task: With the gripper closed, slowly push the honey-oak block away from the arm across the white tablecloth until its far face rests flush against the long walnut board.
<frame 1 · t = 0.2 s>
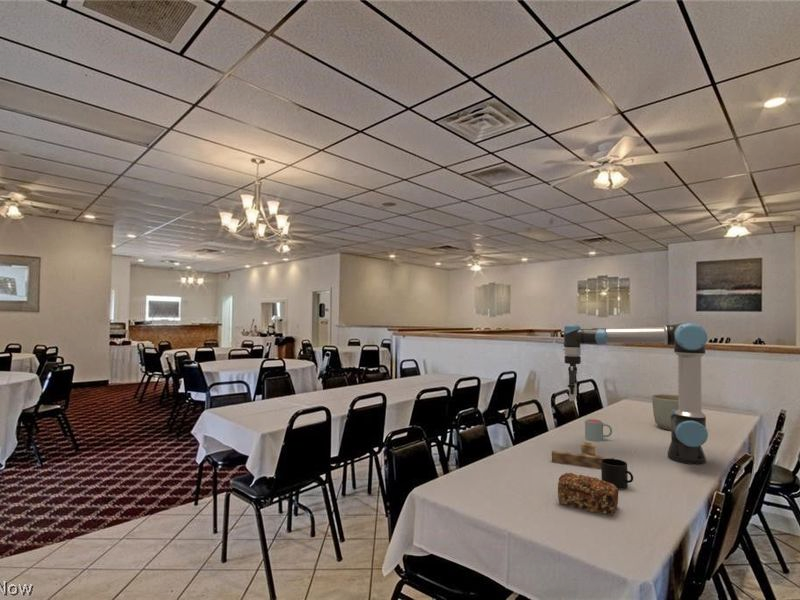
hand: (573, 398, 215), 27 cm above the table, fingers open, 13 cm apart
planter: (672, 429, 261), on the table
board: (582, 465, 196), on the table
block: (588, 456, 209), on the table
bread: (588, 506, 154), on the table
mug 2: (598, 440, 238), on the table
mug: (617, 486, 172), on the table
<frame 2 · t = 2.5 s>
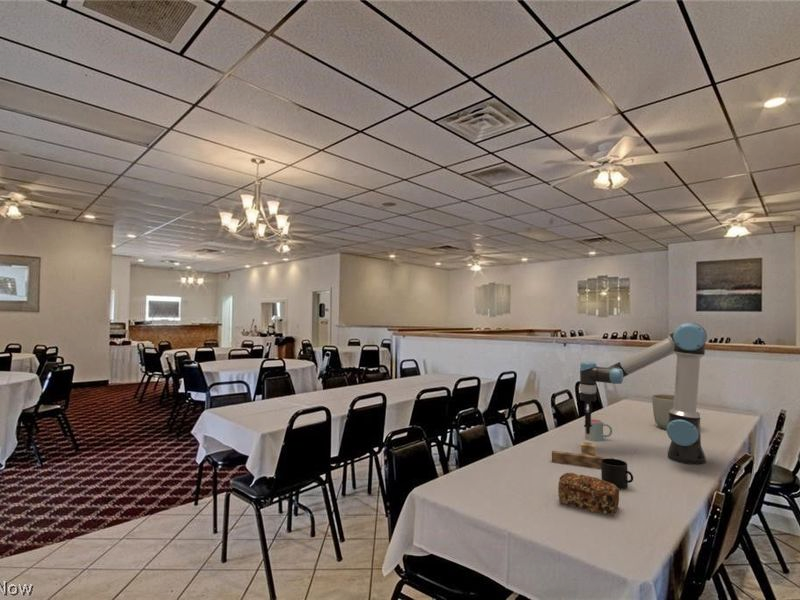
hand: (588, 439, 219), 6 cm above the table, fingers closed
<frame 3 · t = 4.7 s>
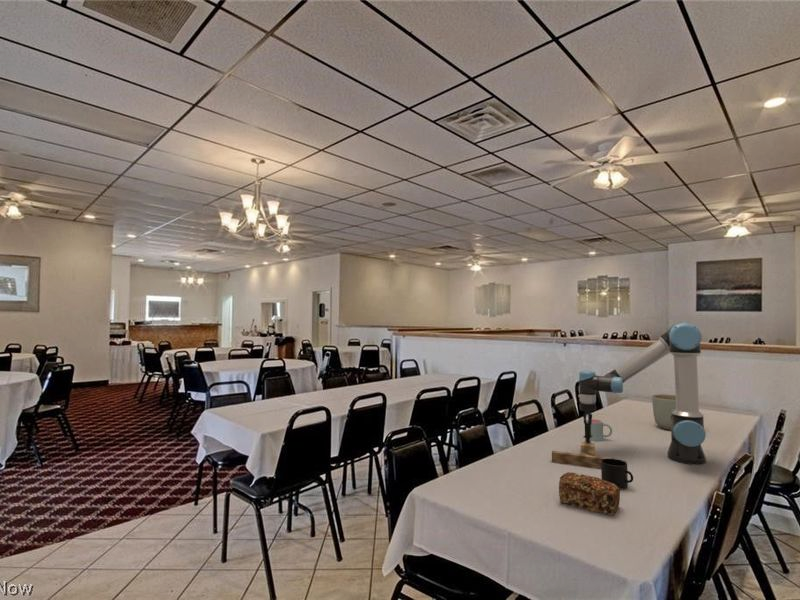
hand: (588, 450, 213), 2 cm above the table, fingers closed
block: (588, 456, 208), on the table, touching gripper
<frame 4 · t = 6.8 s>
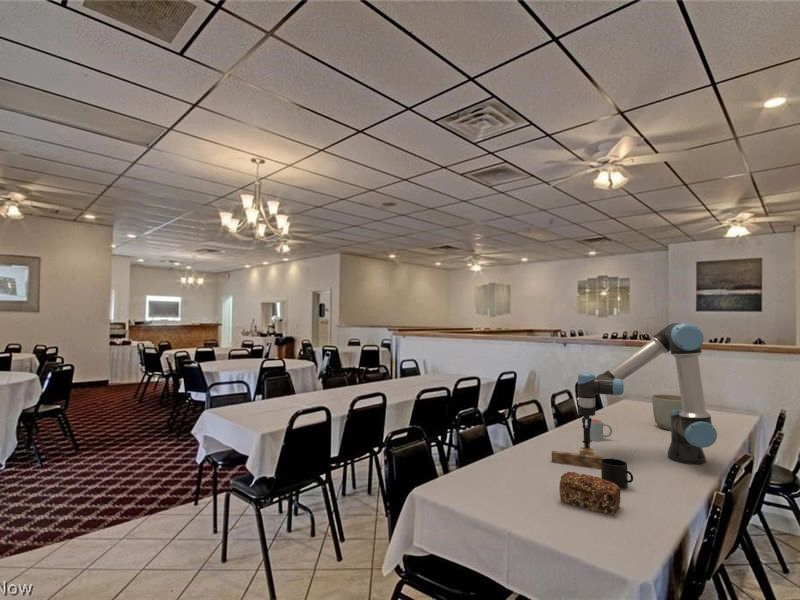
hand: (587, 456, 204), 2 cm above the table, fingers closed
block: (586, 462, 200), on the table, touching board, gripper
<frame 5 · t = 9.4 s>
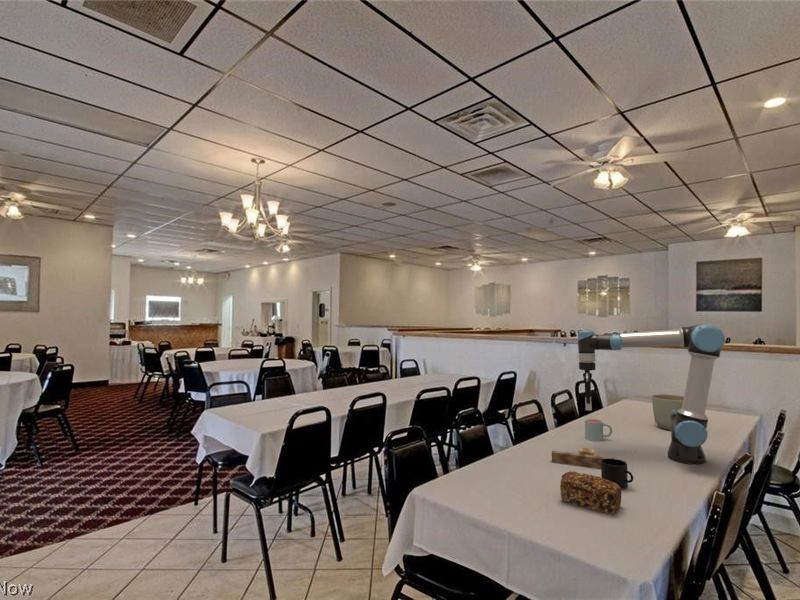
hand: (588, 409, 212), 22 cm above the table, fingers closed
block: (586, 463, 200), on the table
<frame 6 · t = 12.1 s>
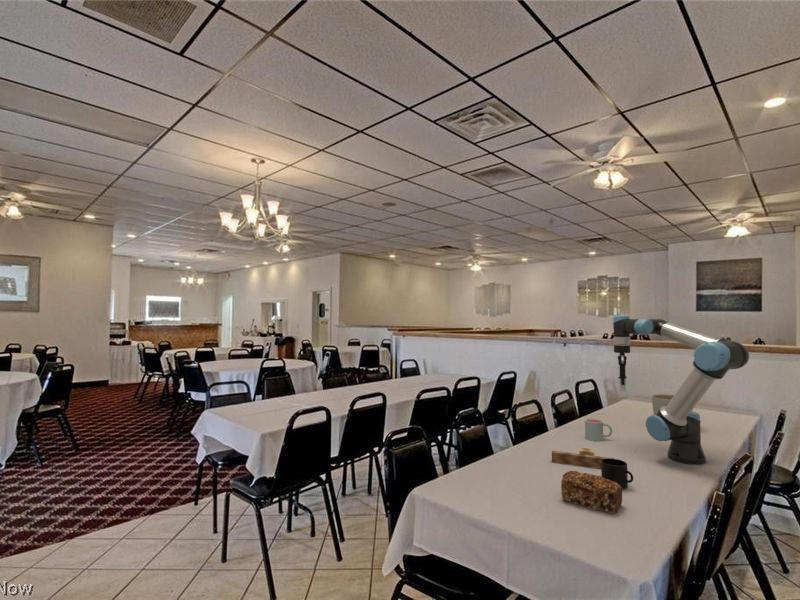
hand: (622, 391, 222), 29 cm above the table, fingers closed
at the end: block inside the target area on the table beside the board (1.9 cm from its centre), on the table; block tilted 0° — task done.
